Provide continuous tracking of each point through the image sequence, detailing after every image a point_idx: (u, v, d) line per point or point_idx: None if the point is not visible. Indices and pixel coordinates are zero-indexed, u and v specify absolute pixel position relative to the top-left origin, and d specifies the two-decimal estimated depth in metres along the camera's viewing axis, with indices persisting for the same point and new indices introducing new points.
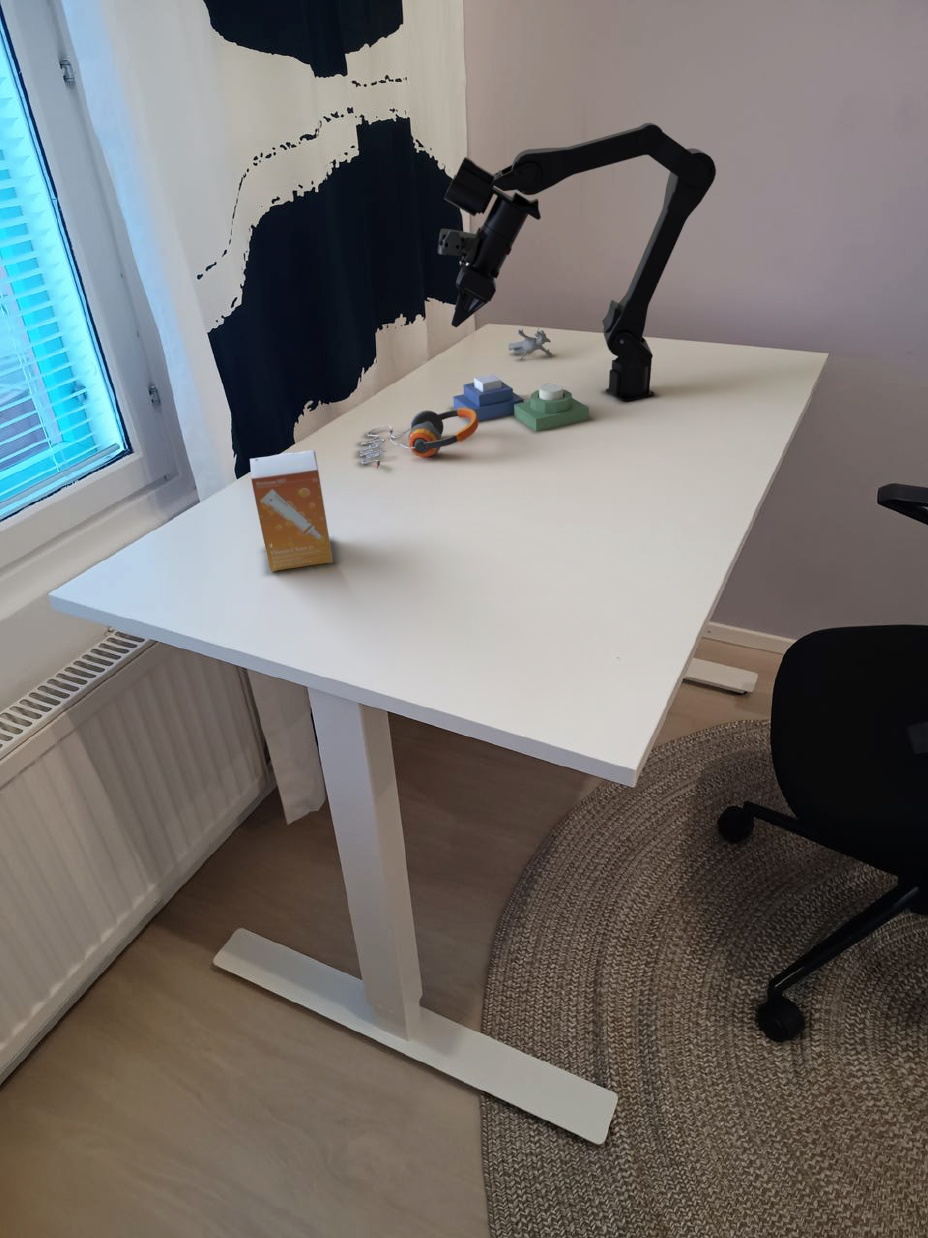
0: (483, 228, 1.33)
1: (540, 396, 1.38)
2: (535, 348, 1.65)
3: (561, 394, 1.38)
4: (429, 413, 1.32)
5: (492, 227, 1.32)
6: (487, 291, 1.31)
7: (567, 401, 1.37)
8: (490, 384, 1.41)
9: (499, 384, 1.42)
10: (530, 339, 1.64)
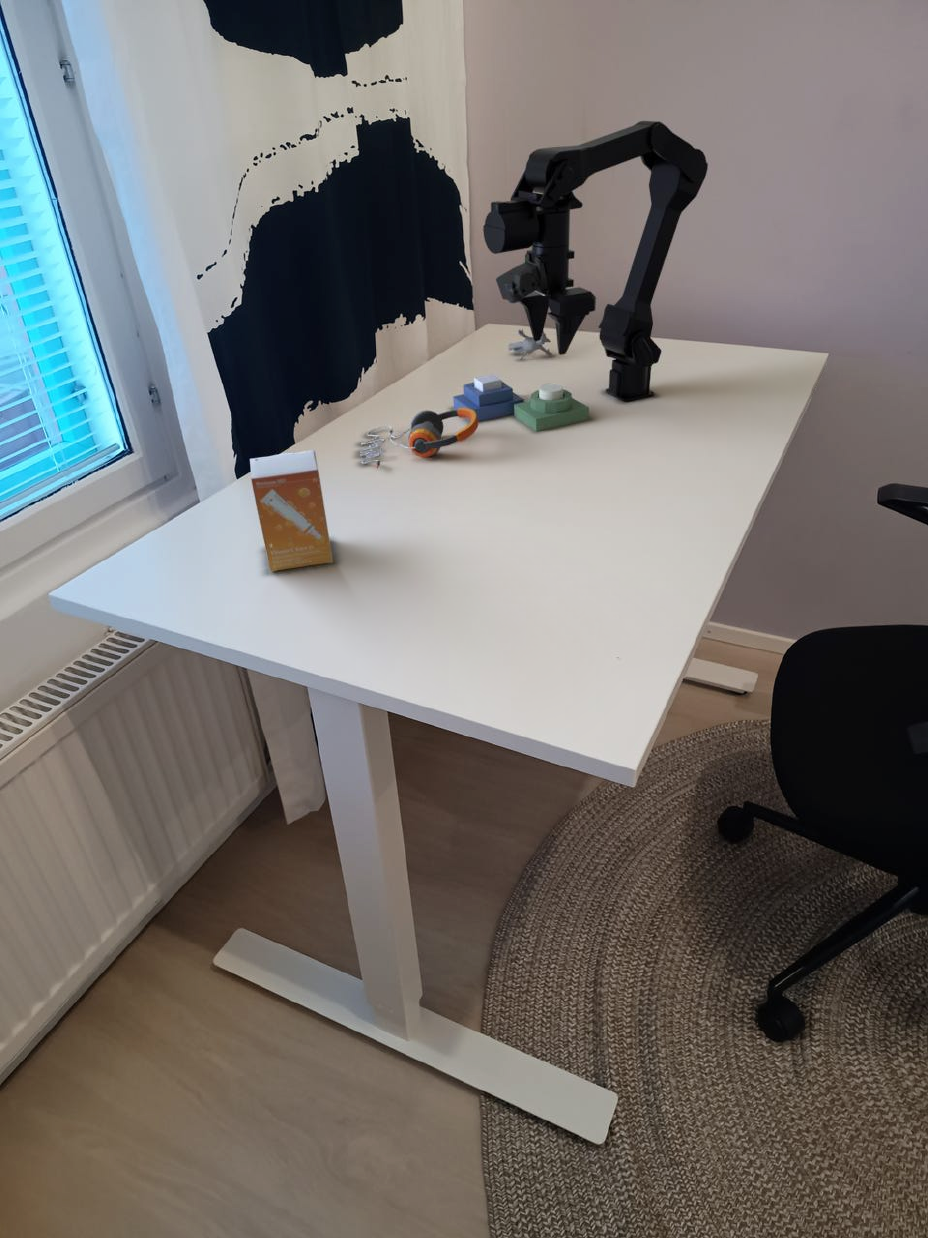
0: (538, 251, 1.24)
1: (540, 396, 1.38)
2: (535, 348, 1.65)
3: (561, 394, 1.38)
4: (429, 413, 1.32)
5: (552, 244, 1.23)
6: (590, 303, 1.23)
7: (567, 401, 1.37)
8: (490, 384, 1.41)
9: (499, 384, 1.42)
10: (530, 339, 1.64)
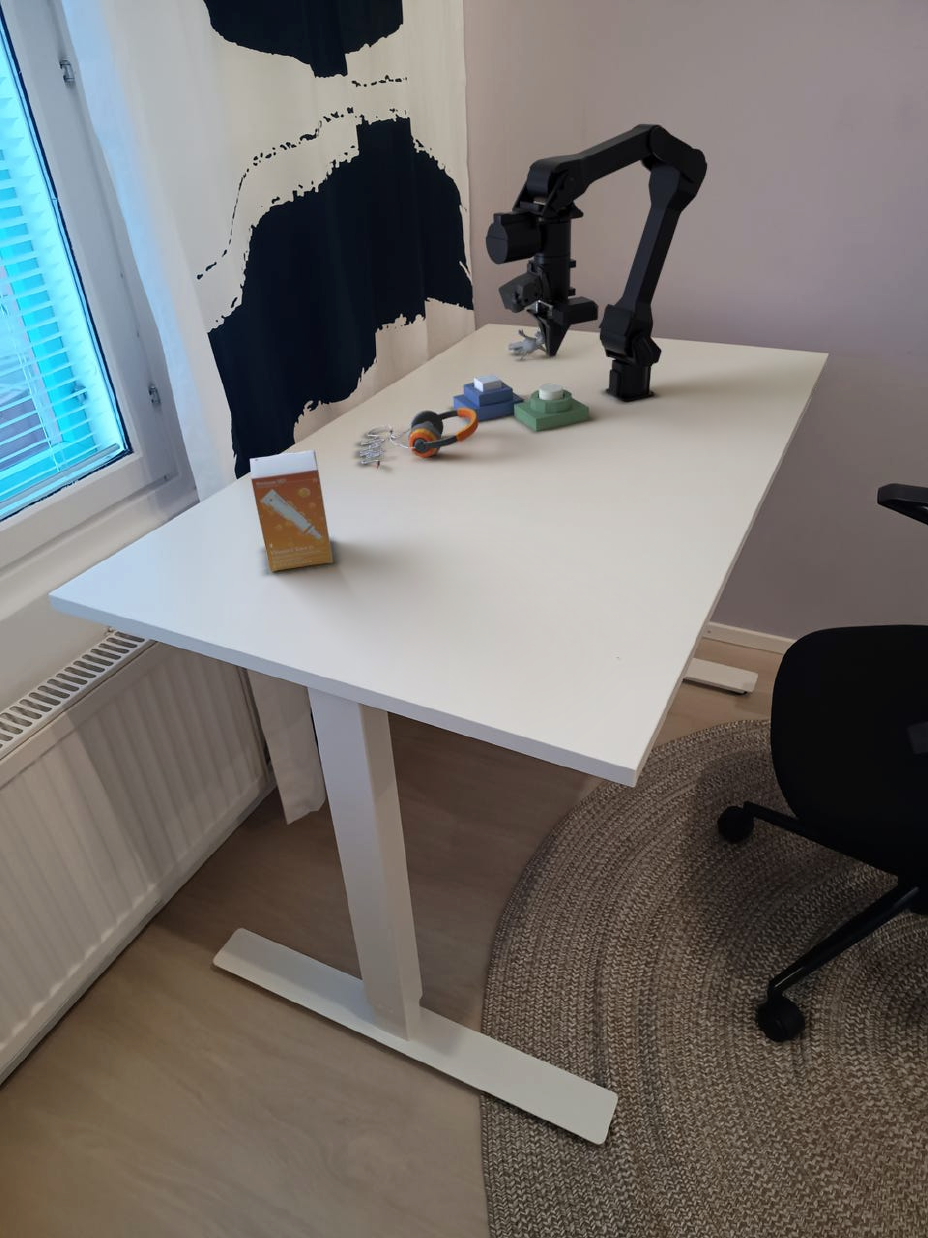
0: (541, 261, 1.25)
1: (540, 396, 1.38)
2: (535, 348, 1.65)
3: (561, 394, 1.38)
4: (429, 413, 1.32)
5: (554, 254, 1.24)
6: (593, 312, 1.24)
7: (567, 401, 1.37)
8: (490, 384, 1.41)
9: (499, 384, 1.42)
10: (530, 339, 1.64)
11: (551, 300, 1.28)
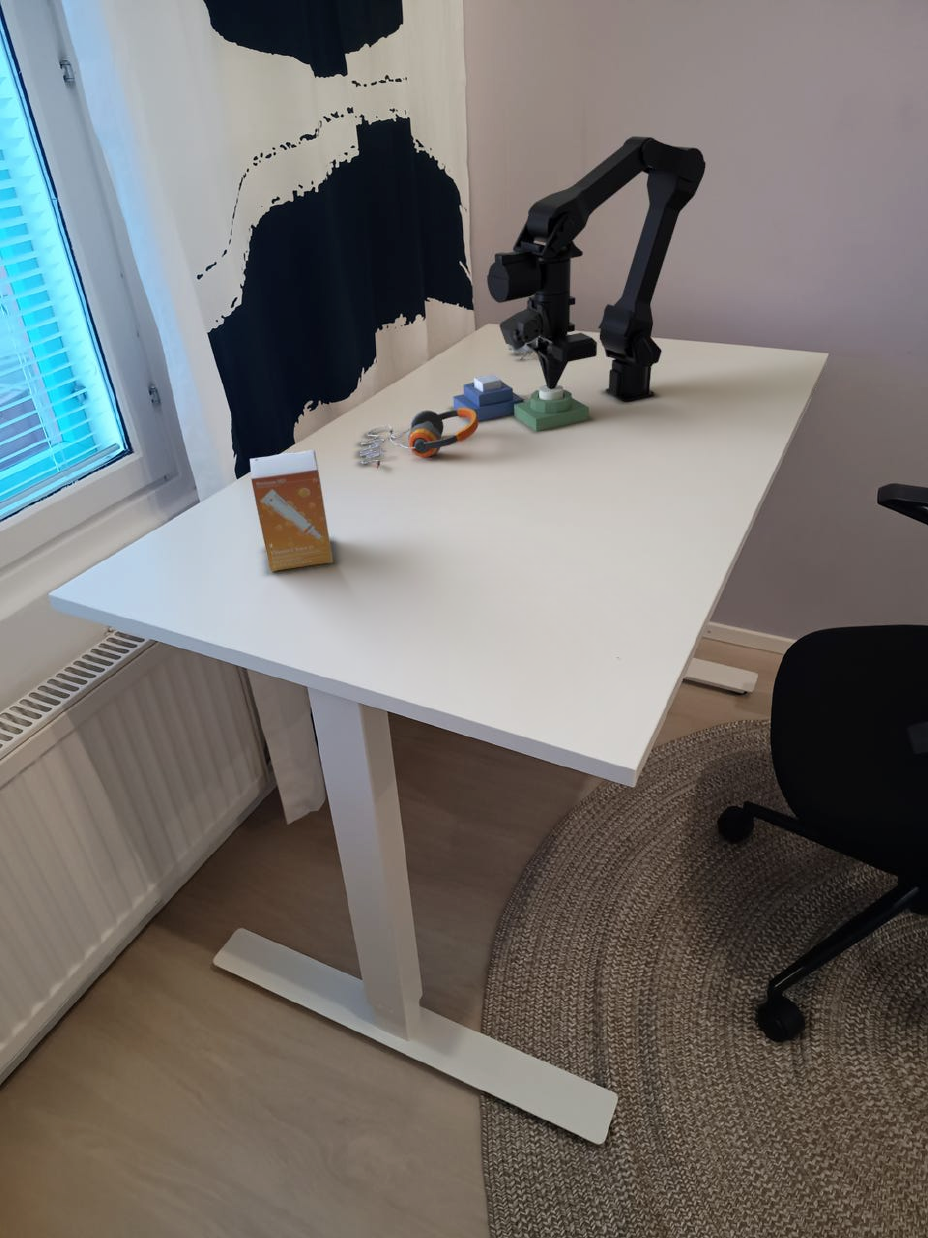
0: (541, 299, 1.28)
1: (540, 397, 1.38)
2: None
3: (561, 395, 1.38)
4: (429, 413, 1.32)
5: (554, 292, 1.27)
6: (592, 348, 1.27)
7: (567, 401, 1.37)
8: (490, 384, 1.41)
9: (499, 384, 1.42)
10: None
11: (551, 336, 1.31)
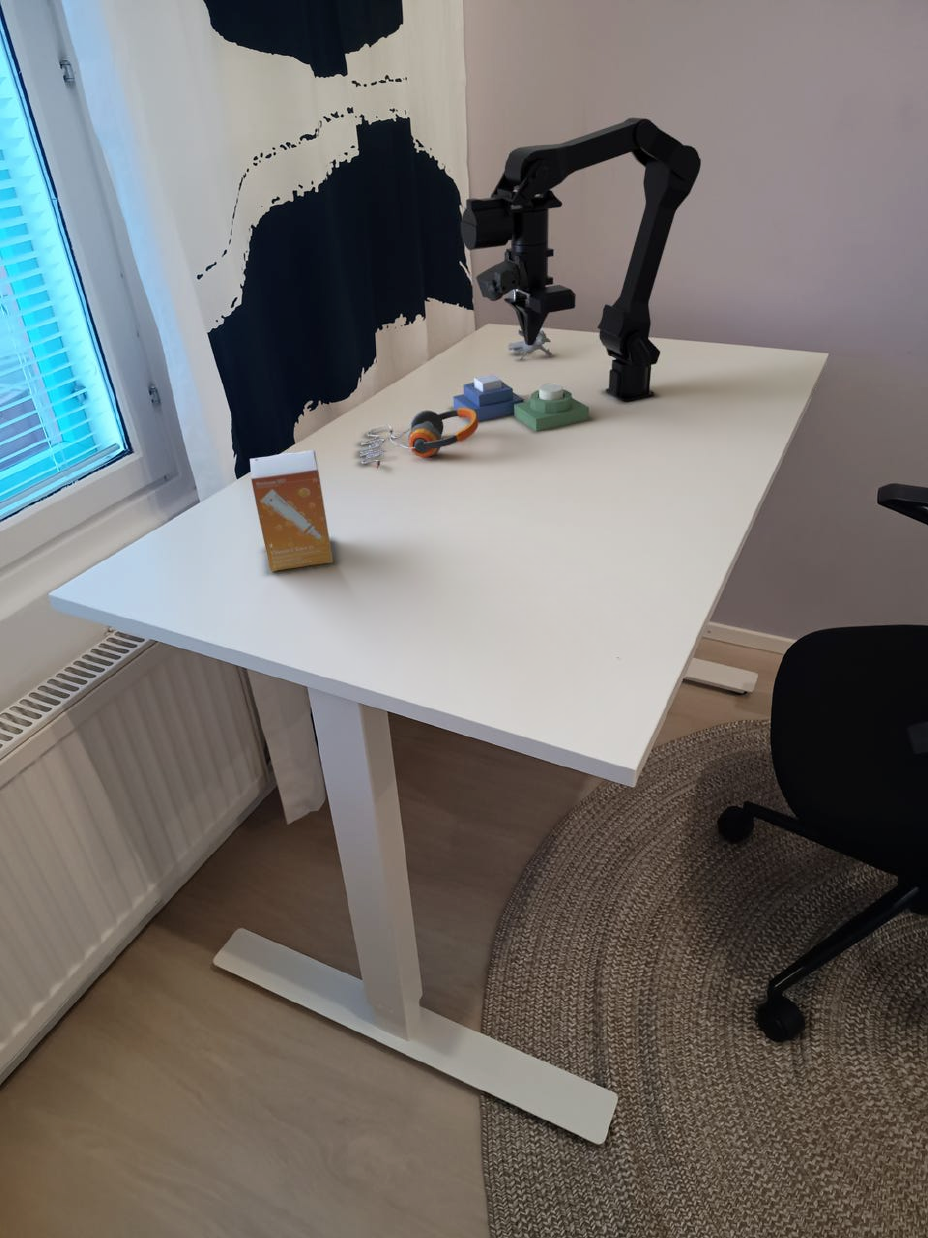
0: (518, 249, 1.25)
1: (540, 396, 1.38)
2: (535, 348, 1.65)
3: (561, 394, 1.38)
4: (429, 413, 1.32)
5: (528, 243, 1.24)
6: (570, 300, 1.24)
7: (567, 401, 1.37)
8: (490, 384, 1.41)
9: (499, 384, 1.42)
10: None
11: (529, 289, 1.28)
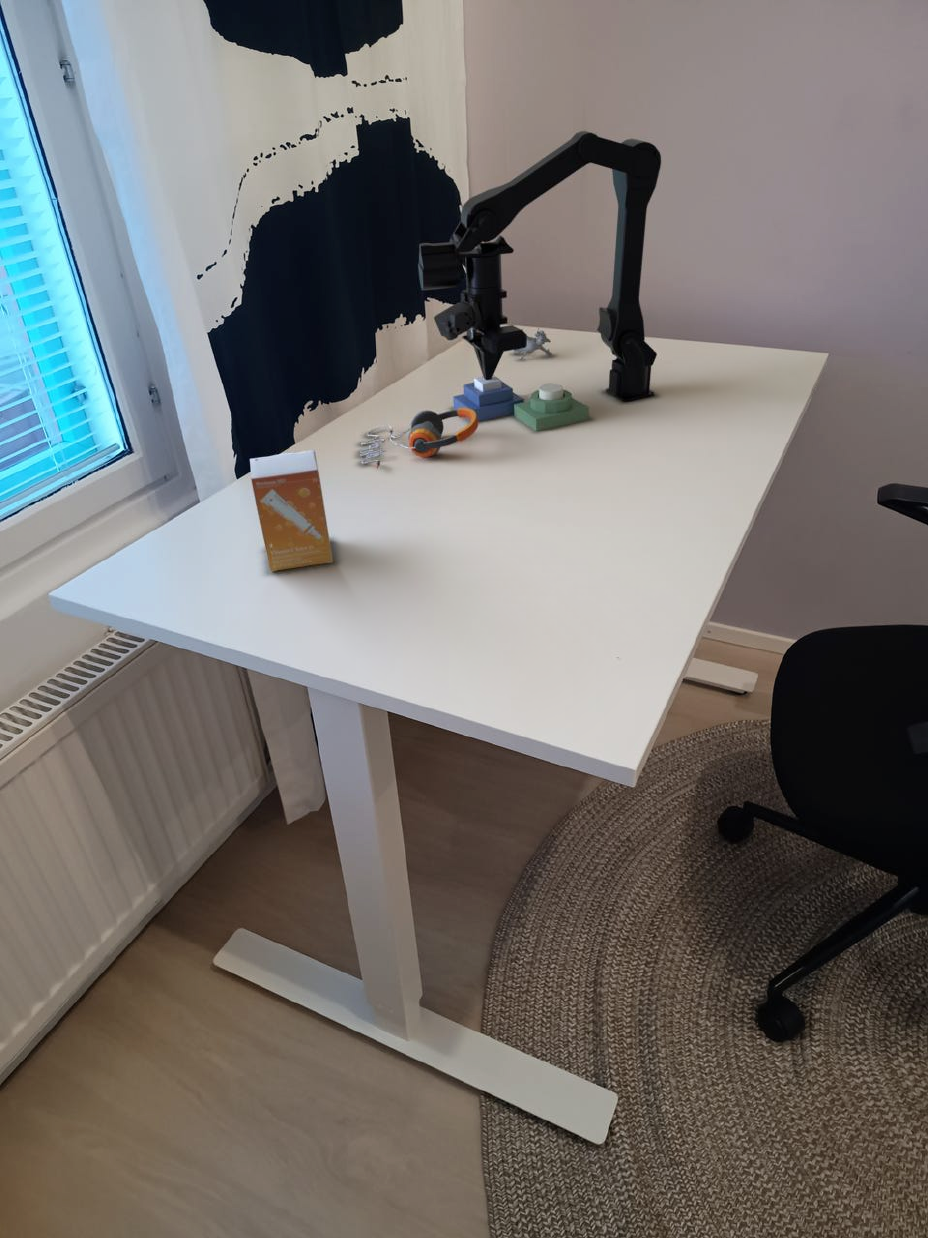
0: (472, 292, 1.32)
1: (540, 396, 1.38)
2: (535, 348, 1.65)
3: (561, 394, 1.38)
4: (429, 413, 1.32)
5: (477, 286, 1.31)
6: (521, 340, 1.31)
7: (567, 401, 1.37)
8: (490, 384, 1.41)
9: (499, 384, 1.42)
10: (530, 339, 1.64)
11: (484, 328, 1.35)
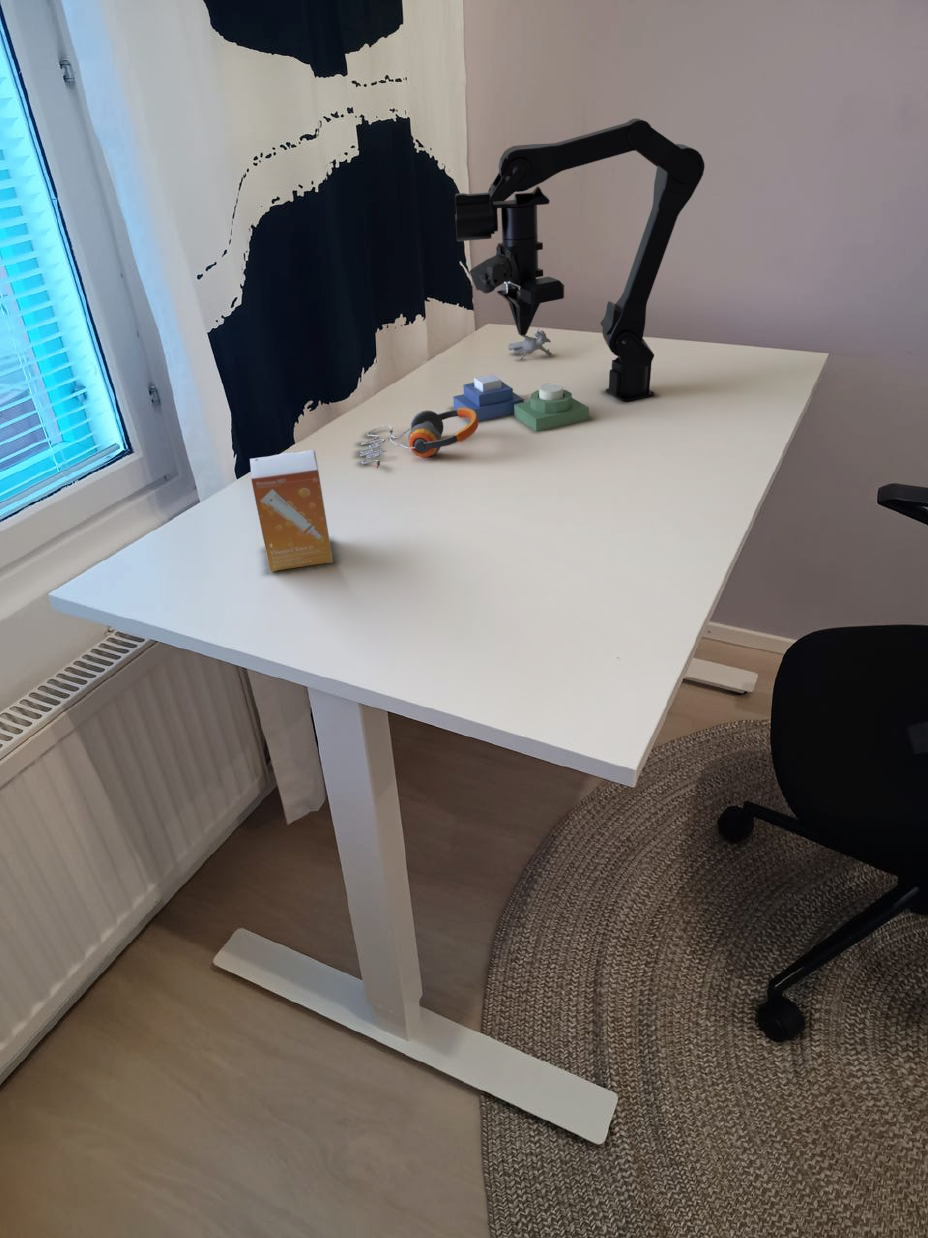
0: (509, 244, 1.32)
1: (540, 396, 1.38)
2: (535, 348, 1.65)
3: (561, 394, 1.38)
4: (429, 413, 1.32)
5: (511, 237, 1.31)
6: (559, 291, 1.31)
7: (567, 401, 1.37)
8: (490, 384, 1.41)
9: (499, 384, 1.42)
10: (530, 339, 1.64)
11: (520, 281, 1.34)
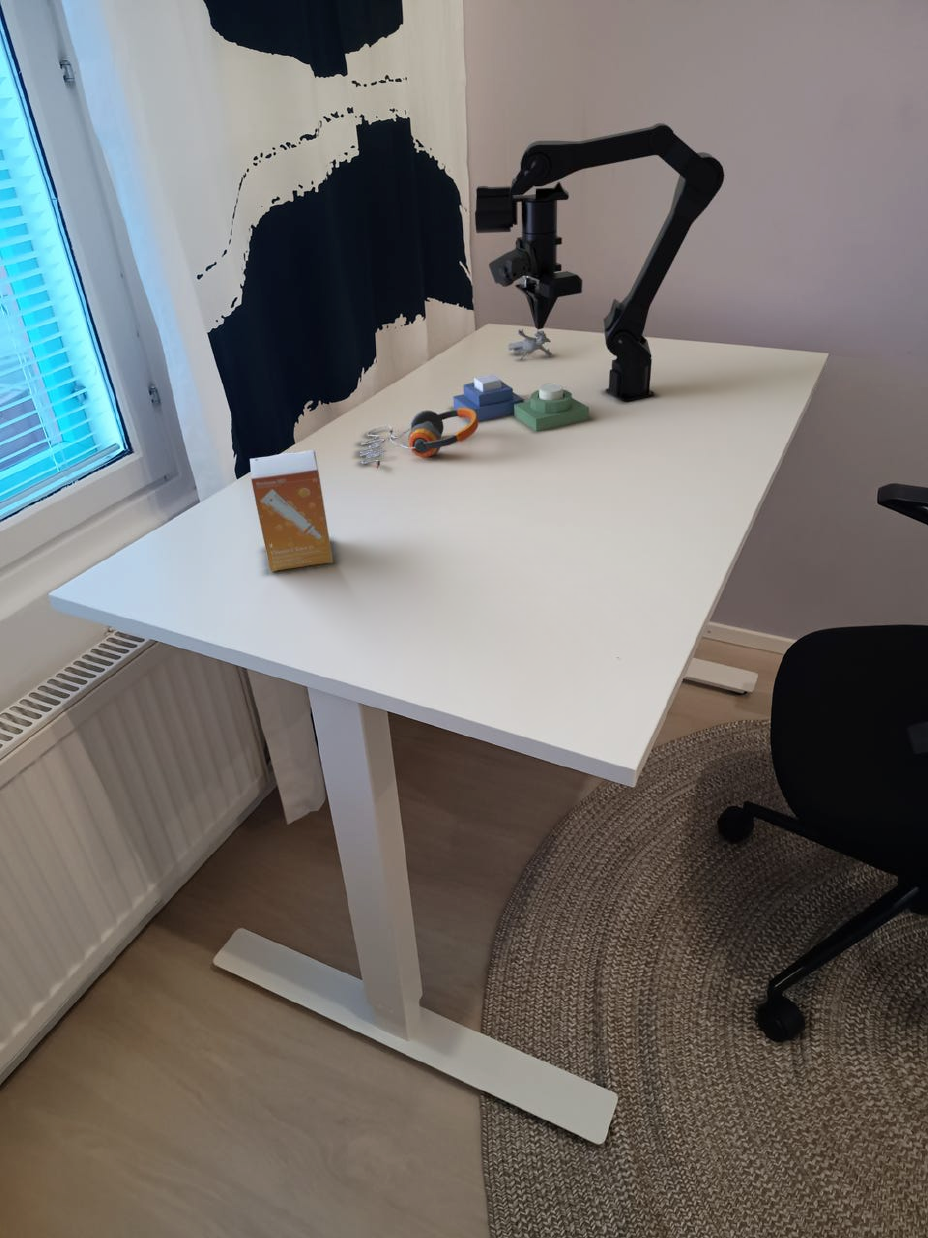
0: (528, 238, 1.33)
1: (540, 396, 1.38)
2: (535, 348, 1.65)
3: (561, 394, 1.38)
4: (429, 413, 1.32)
5: (529, 231, 1.33)
6: (577, 285, 1.32)
7: (567, 401, 1.37)
8: (490, 384, 1.41)
9: (499, 384, 1.42)
10: (530, 339, 1.64)
11: (538, 275, 1.36)
